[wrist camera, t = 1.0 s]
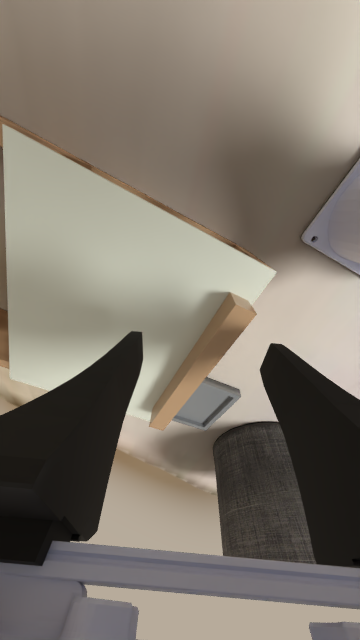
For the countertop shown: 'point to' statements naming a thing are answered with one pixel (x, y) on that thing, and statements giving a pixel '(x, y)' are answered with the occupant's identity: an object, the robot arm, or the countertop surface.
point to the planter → (260, 496)
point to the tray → (207, 404)
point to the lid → (114, 281)
